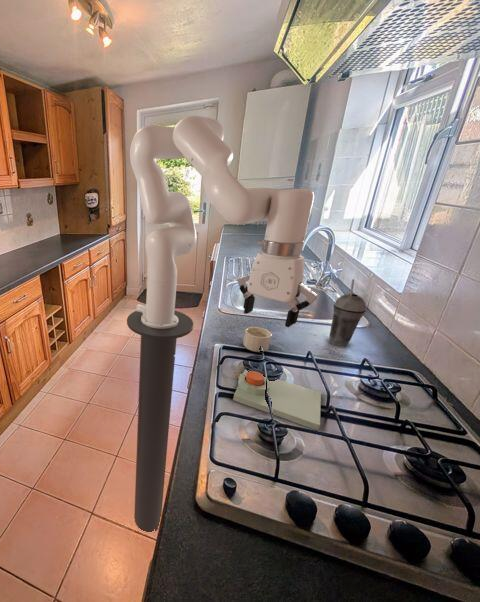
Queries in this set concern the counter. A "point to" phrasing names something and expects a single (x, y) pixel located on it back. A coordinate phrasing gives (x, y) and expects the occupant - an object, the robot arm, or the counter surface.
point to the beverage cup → (346, 317)
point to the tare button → (255, 378)
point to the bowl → (257, 339)
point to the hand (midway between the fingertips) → (267, 318)
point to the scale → (282, 400)
